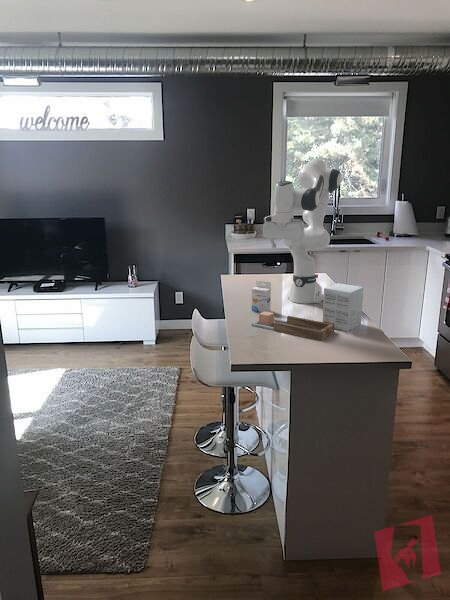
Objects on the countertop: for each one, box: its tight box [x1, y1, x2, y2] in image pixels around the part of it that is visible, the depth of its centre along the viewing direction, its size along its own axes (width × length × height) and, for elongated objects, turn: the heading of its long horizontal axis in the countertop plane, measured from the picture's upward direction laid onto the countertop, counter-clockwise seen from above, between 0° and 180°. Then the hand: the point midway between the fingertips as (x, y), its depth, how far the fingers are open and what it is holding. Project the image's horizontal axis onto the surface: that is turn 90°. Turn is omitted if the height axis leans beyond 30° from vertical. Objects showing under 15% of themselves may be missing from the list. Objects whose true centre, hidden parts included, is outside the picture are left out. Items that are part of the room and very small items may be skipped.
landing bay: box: [251, 318, 287, 331], centre depth 220 cm, size 13×12×1 cm
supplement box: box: [322, 282, 364, 332], centre depth 216 cm, size 13×13×18 cm
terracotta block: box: [258, 311, 275, 326], centre depth 220 cm, size 5×5×5 cm
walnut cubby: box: [273, 315, 335, 341], centre depth 210 cm, size 13×22×4 cm, turn 53°
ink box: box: [251, 280, 272, 313], centre depth 239 cm, size 8×5×15 cm, turn 60°
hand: (282, 248), depth 221 cm, fingers open, 8 cm apart
